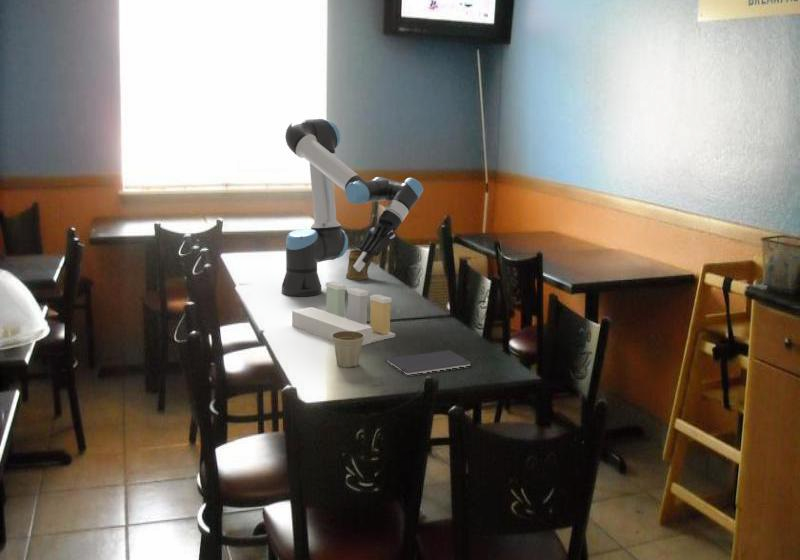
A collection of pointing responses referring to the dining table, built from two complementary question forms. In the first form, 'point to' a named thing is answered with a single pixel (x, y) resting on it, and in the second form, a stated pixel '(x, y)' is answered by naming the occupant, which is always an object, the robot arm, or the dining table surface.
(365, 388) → the dining table surface
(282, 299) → the dining table surface
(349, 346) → the flower pot
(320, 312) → the keypad base
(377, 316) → the yellow tall block
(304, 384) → the dining table surface
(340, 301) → the pale green tall block
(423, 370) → the notebook
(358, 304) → the grey tall block
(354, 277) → the wooden mug
